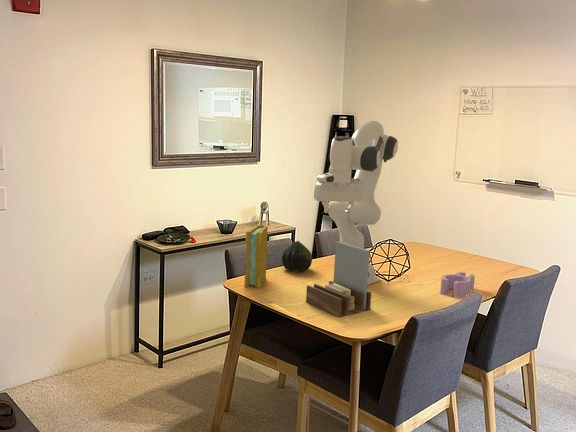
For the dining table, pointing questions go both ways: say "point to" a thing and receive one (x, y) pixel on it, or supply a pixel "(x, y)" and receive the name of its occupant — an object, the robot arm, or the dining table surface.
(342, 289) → the offcut top
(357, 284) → the sheet
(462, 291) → the clip
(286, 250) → the squash
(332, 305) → the rack
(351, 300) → the offcut middle
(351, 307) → the offcut bottom
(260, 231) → the book
